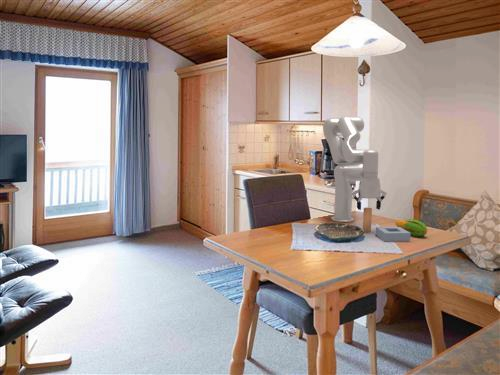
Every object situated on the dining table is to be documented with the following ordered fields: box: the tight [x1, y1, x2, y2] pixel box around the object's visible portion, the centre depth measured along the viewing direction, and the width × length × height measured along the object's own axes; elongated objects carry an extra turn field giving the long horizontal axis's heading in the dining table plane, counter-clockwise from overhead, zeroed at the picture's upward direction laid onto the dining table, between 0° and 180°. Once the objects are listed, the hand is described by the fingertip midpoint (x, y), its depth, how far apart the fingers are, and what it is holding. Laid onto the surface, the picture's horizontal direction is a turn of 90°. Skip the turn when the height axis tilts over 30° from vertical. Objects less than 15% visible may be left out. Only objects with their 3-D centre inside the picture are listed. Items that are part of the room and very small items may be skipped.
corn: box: [395, 217, 428, 238], centre depth 212 cm, size 7×8×20 cm
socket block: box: [375, 226, 411, 243], centre depth 203 cm, size 12×12×4 cm
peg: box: [362, 206, 373, 233], centre depth 215 cm, size 4×4×12 cm
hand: (368, 209), depth 213 cm, fingers open, 9 cm apart
